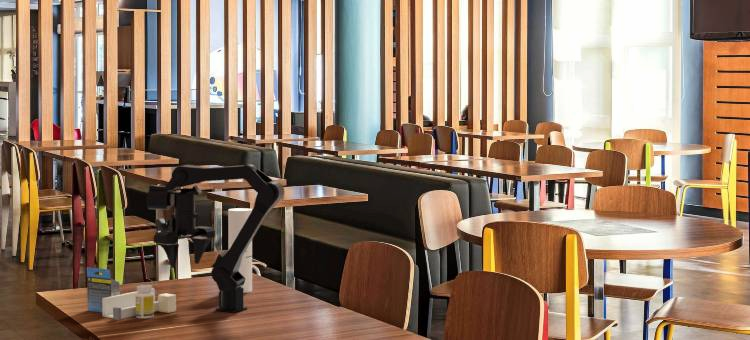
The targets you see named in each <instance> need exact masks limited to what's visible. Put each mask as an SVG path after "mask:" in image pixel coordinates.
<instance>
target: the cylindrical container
mask: <svg viewBox="0 0 750 340" xmlns="http://www.w3.org/2000/svg"><path fill="white" fill-rule="evenodd" d="M227 210H228V212H227V214H228V218H227V220H228V221H227V222H228V223H227V224H228V236H227V237H228V240H227V241H228V243H227V244H228V249H227V252H228V251H229V249H230V248H231V246H232V244H233V242H234V241H235V239H236V237H237V236H238V234H239V232H240V230H241V229H242V227H243V225H244V224H245V222H246V220H247V219H248V217H249V215H250V213H251V212H252V210H253V208H246V207H245V208H244V207H242V208H241V207H237V208H229V209H227ZM238 271H239V272H240V273H241V274H242V275H243V276H244V277H245V279H246V280H245V282H244V285H243V286H241V287H242V288H243V294H247V293H252V291H253V240H252V241H251V242H250V244H249V246H248V247H247V249H246V251H245V252H244V254H243V256H242V260H241V265H240V267H239V270H238Z"/></svg>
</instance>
